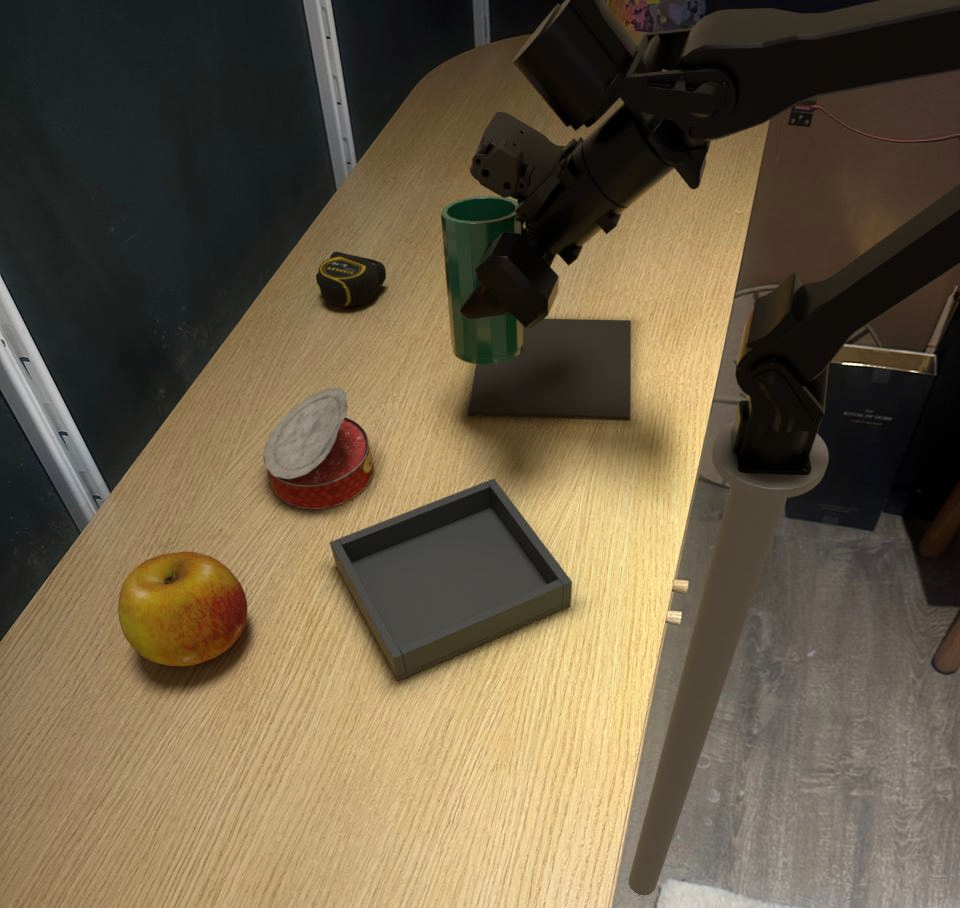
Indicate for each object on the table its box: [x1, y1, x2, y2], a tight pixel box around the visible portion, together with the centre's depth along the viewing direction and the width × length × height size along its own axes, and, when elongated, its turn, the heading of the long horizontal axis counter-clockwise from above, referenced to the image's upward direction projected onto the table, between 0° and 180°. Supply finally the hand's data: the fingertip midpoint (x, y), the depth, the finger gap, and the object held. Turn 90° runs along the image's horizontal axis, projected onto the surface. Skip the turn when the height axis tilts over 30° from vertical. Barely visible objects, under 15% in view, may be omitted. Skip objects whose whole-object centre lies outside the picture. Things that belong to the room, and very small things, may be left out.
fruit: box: [117, 551, 248, 667], centre depth 67 cm, size 10×9×8 cm
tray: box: [329, 478, 573, 682], centre depth 71 cm, size 16×14×3 cm
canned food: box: [262, 386, 375, 510], centre depth 79 cm, size 11×10×10 cm
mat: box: [467, 318, 632, 421], centre depth 89 cm, size 16×16×1 cm
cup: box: [440, 195, 524, 365], centre depth 74 cm, size 7×7×12 cm
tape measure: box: [315, 251, 387, 307], centre depth 97 cm, size 7×7×4 cm
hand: (477, 290), depth 75 cm, fingers closed on cup, 7 cm apart
